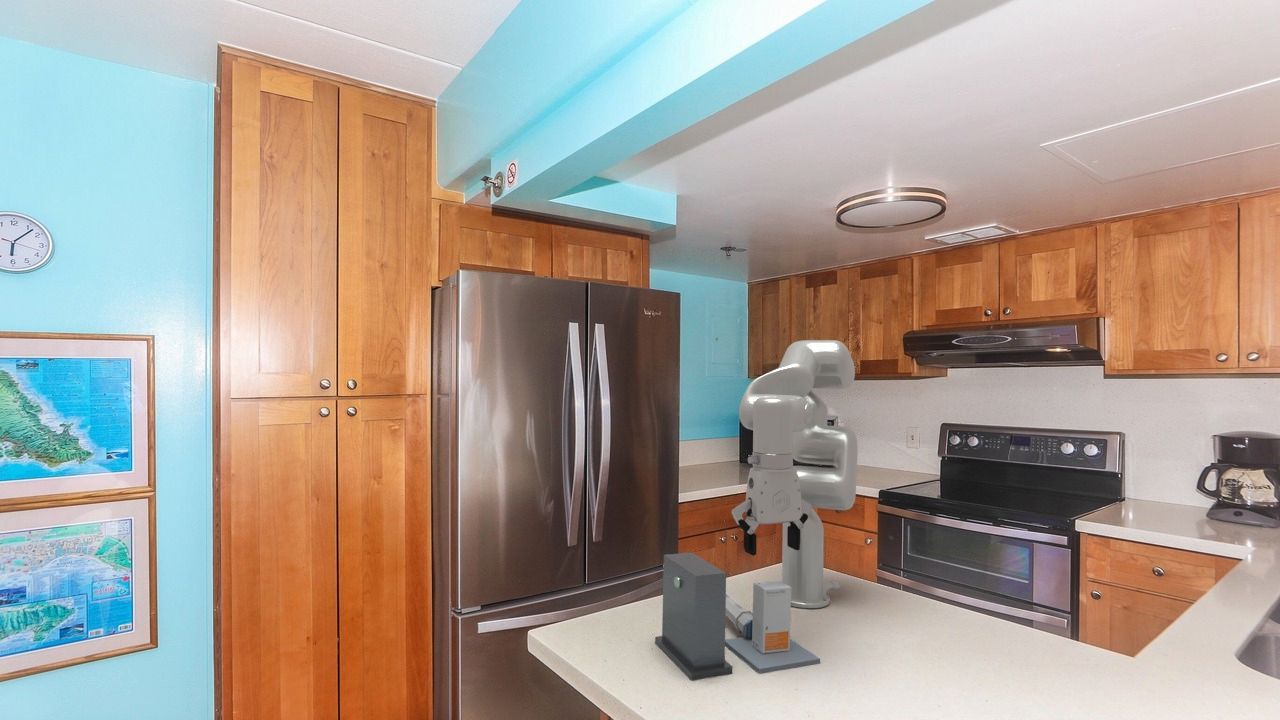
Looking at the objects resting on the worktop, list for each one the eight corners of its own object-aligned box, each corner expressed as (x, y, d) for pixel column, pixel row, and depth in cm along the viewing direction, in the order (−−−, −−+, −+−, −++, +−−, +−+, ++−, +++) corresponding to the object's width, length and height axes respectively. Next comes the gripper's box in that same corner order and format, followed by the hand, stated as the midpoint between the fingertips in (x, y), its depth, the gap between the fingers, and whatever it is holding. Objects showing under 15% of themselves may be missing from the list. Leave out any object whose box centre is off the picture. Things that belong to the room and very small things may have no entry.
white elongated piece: (742, 620, 119) (692, 570, 143) (740, 653, 120) (690, 597, 143) (766, 617, 121) (712, 568, 145) (763, 650, 121) (711, 595, 145)
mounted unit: (692, 637, 122) (693, 550, 123) (732, 673, 107) (734, 574, 108) (655, 643, 119) (657, 553, 120) (691, 680, 105) (693, 578, 105)
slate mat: (779, 635, 124) (779, 631, 124) (820, 663, 112) (820, 658, 112) (723, 644, 120) (723, 639, 120) (759, 673, 108) (759, 668, 108)
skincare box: (762, 654, 113) (763, 589, 114) (751, 645, 117) (752, 582, 118) (791, 651, 115) (791, 586, 116) (779, 642, 119) (780, 579, 120)
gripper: (743, 466, 111) (743, 561, 111) (822, 462, 117) (821, 552, 117) (723, 460, 118) (722, 549, 118) (798, 456, 124) (798, 541, 124)
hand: (772, 550), depth 117 cm, fingers open, 9 cm apart
